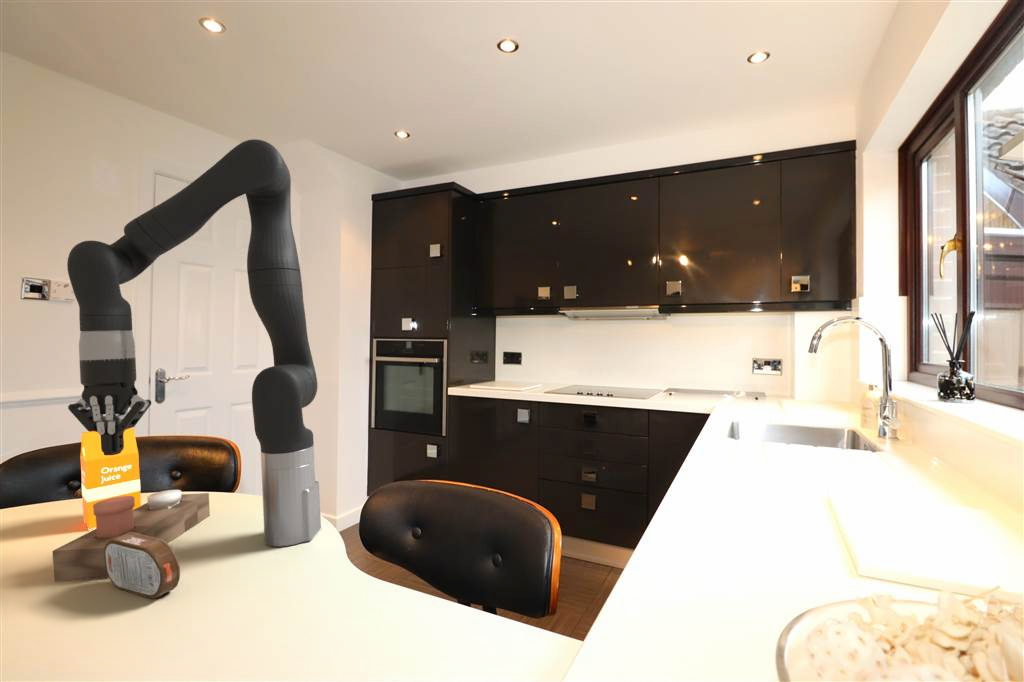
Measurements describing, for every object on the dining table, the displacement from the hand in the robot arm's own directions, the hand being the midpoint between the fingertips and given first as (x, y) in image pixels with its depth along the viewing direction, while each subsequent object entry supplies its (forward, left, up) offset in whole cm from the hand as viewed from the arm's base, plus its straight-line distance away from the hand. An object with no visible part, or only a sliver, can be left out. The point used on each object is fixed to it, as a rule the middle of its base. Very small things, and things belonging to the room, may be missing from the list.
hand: (112, 454), depth 83 cm
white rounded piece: (0, -13, -18) cm, 22 cm away
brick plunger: (0, 0, -15) cm, 15 cm away
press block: (0, -6, -19) cm, 20 cm away
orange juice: (+16, -20, -19) cm, 32 cm away
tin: (-12, +12, -19) cm, 26 cm away
